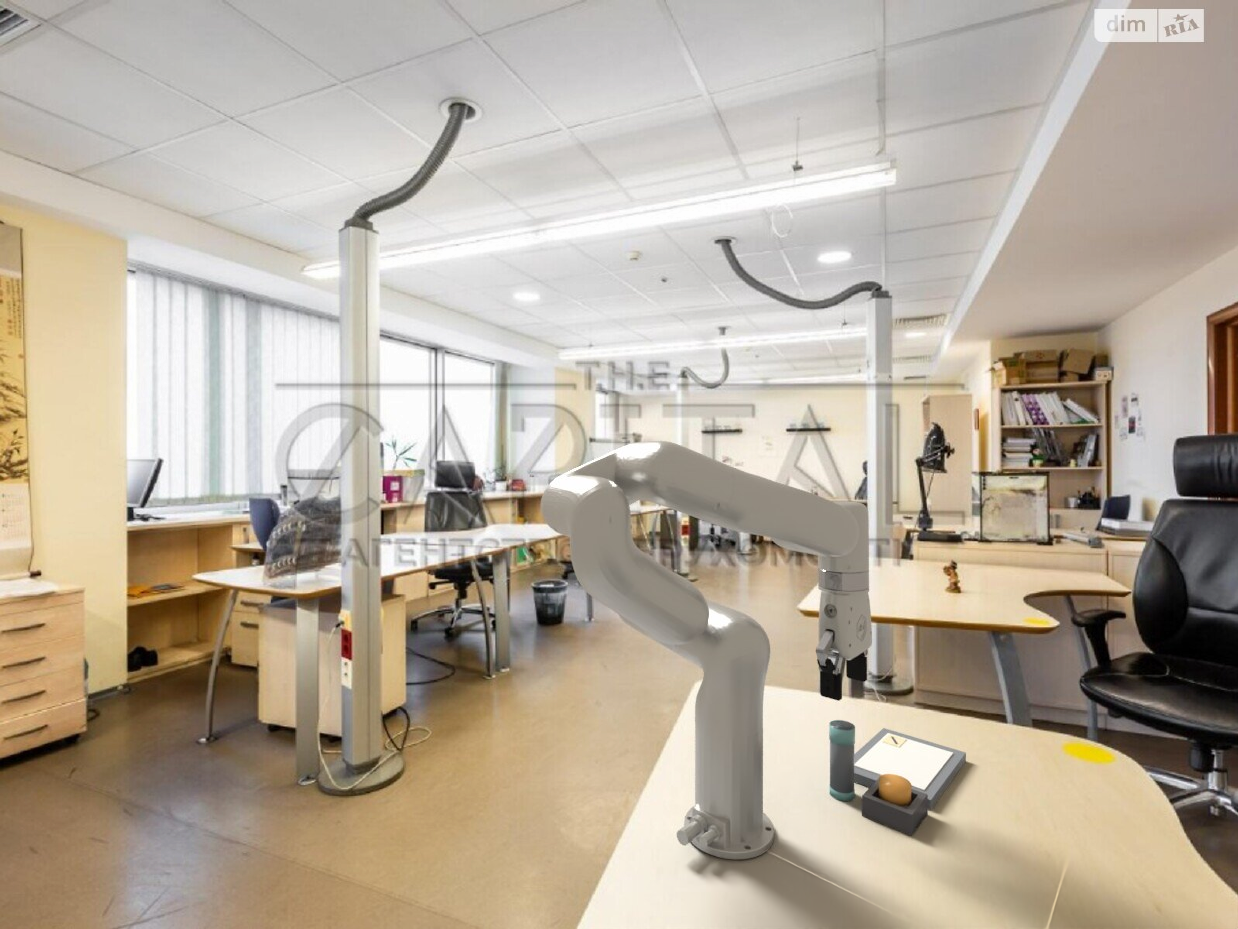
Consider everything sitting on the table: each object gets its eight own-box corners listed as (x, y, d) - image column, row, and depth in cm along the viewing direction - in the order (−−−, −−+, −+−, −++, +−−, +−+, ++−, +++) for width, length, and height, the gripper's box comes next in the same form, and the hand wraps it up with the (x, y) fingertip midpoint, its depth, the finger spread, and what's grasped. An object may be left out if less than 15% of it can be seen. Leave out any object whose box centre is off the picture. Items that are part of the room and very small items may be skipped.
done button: (905, 810, 86) (905, 793, 86) (874, 798, 90) (874, 782, 89) (915, 797, 90) (915, 781, 90) (884, 786, 93) (885, 770, 93)
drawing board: (930, 810, 91) (930, 798, 91) (839, 776, 100) (839, 765, 100) (965, 761, 105) (965, 750, 105) (883, 735, 115) (883, 726, 115)
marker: (849, 804, 92) (849, 733, 92) (825, 795, 95) (825, 725, 95) (858, 794, 95) (859, 725, 95) (835, 785, 98) (835, 717, 98)
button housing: (911, 836, 85) (912, 815, 85) (861, 815, 89) (862, 795, 89) (927, 814, 90) (927, 794, 90) (879, 796, 95) (879, 777, 95)
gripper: (844, 593, 86) (845, 713, 86) (887, 574, 98) (888, 678, 99) (795, 586, 91) (796, 699, 91) (842, 569, 104) (843, 667, 104)
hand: (844, 688), depth 95 cm, fingers open, 9 cm apart
